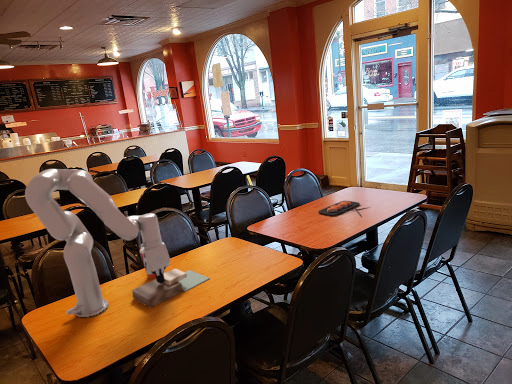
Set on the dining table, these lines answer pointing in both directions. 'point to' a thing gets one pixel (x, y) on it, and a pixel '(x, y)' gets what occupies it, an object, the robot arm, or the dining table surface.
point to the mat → (192, 280)
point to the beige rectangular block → (174, 276)
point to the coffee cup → (150, 276)
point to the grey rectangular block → (156, 292)
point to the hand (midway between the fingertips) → (161, 282)
